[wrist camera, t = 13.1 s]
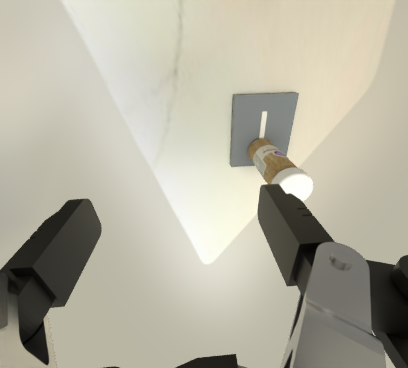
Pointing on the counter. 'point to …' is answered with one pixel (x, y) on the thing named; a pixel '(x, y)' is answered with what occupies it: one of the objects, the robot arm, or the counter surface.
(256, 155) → the sprinkles bottle
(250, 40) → the counter surface
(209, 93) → the counter surface
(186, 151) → the counter surface
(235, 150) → the slate board
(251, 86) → the counter surface
